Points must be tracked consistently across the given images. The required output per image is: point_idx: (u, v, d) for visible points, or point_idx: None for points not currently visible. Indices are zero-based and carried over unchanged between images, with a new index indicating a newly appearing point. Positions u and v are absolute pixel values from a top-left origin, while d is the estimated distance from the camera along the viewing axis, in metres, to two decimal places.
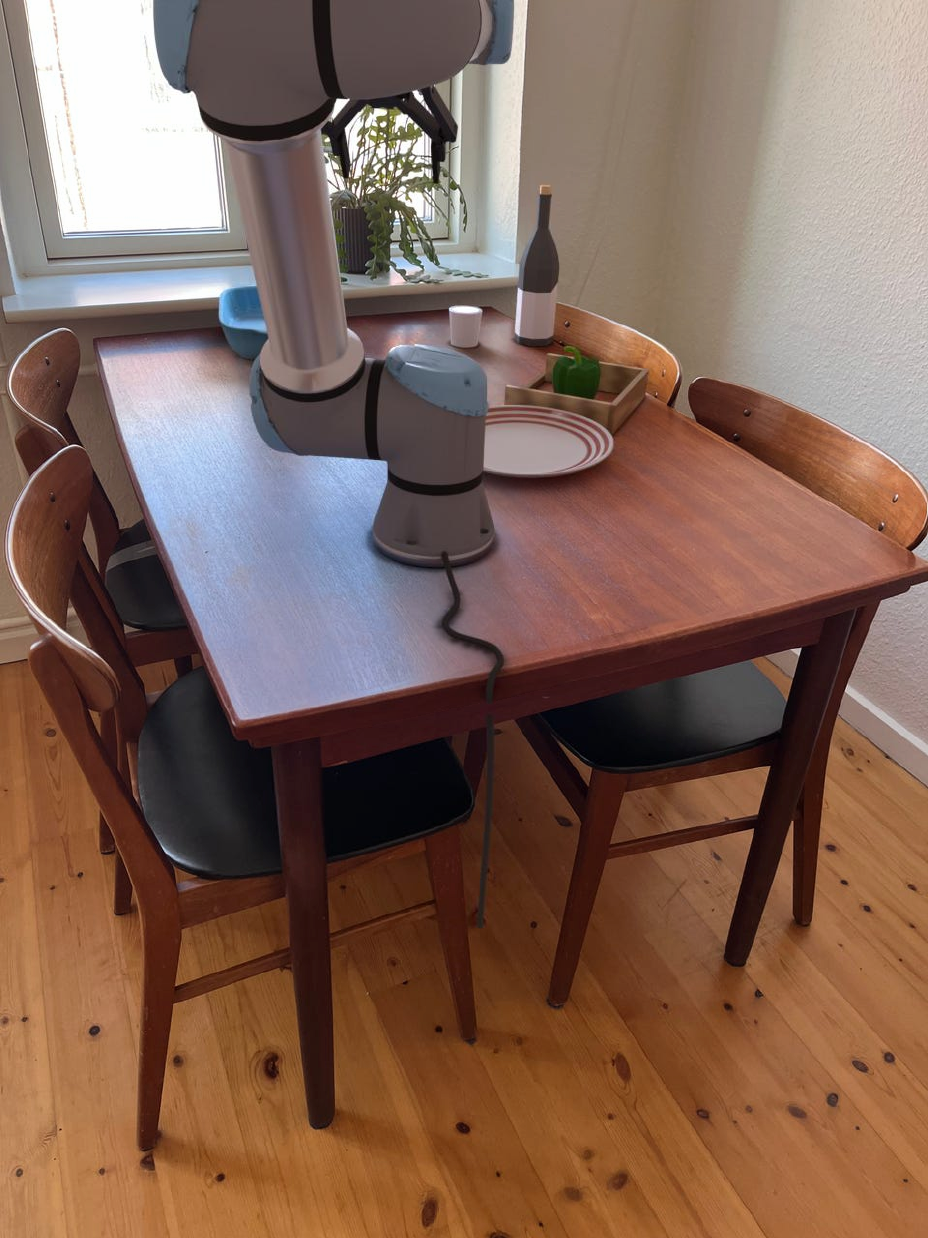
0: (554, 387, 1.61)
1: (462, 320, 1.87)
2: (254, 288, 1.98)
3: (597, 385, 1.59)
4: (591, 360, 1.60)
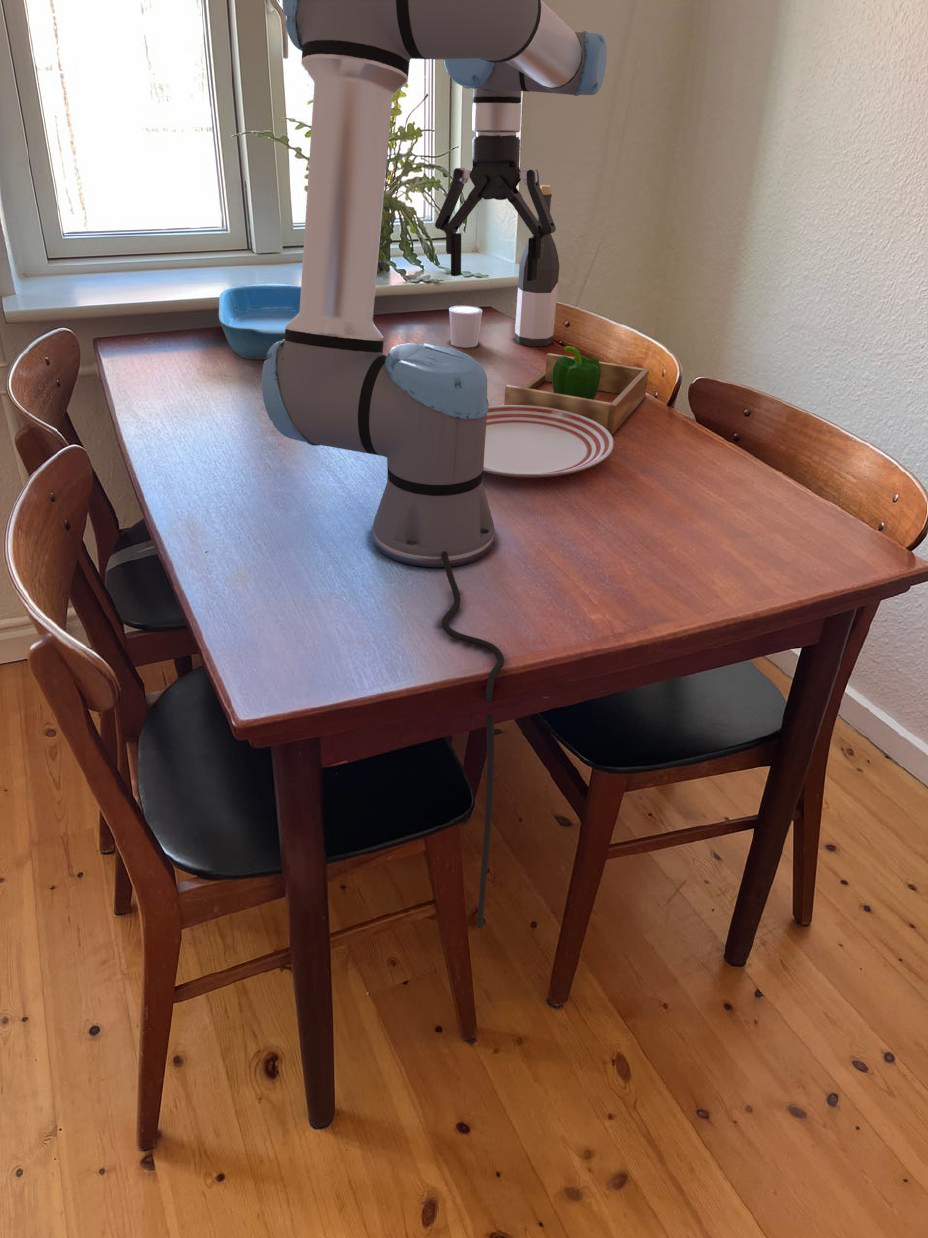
0: (554, 387, 1.61)
1: (462, 320, 1.87)
2: (254, 288, 1.98)
3: (597, 385, 1.59)
4: (591, 360, 1.60)
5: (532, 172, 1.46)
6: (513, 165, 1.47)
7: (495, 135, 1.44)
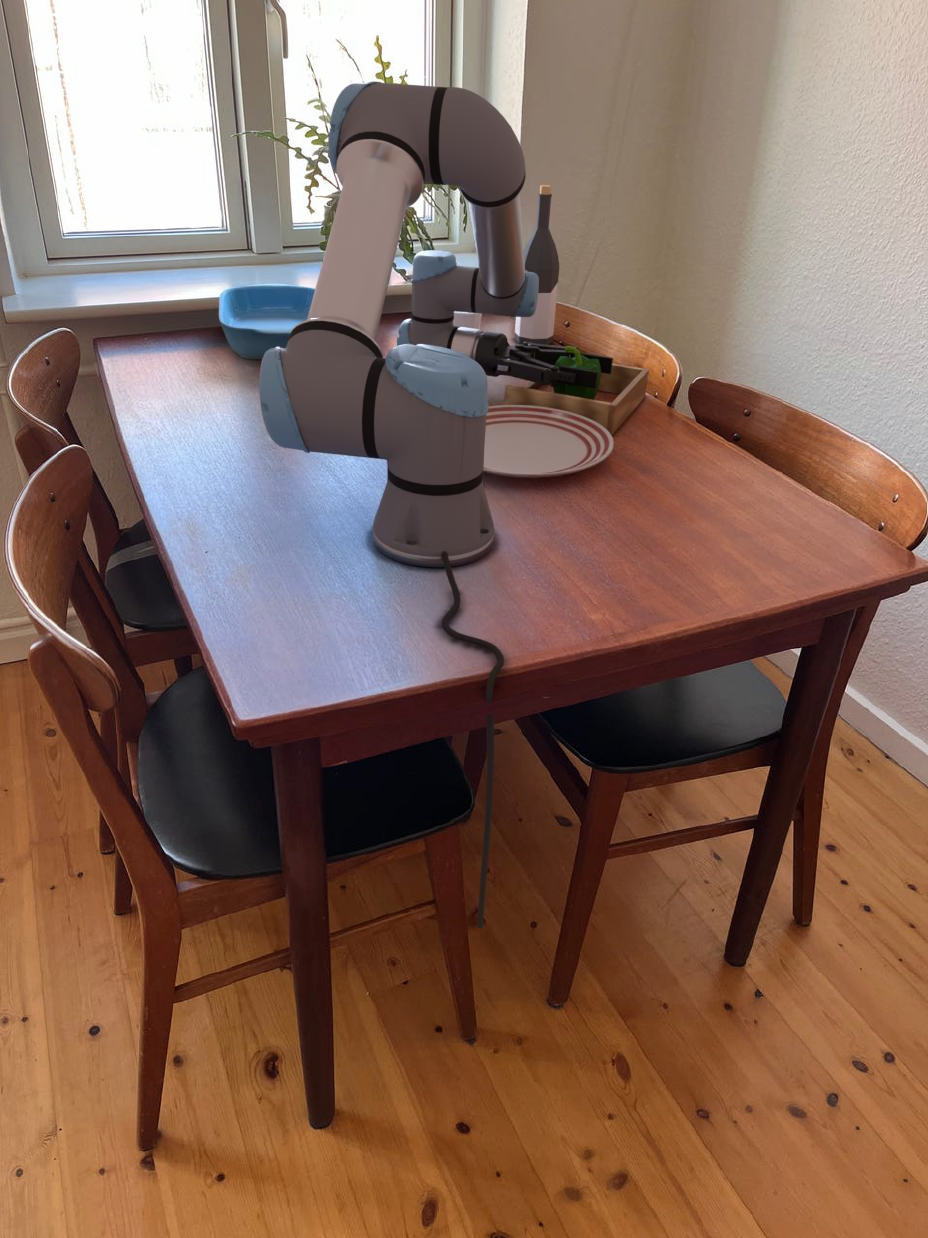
0: (554, 387, 1.61)
1: (462, 320, 1.87)
2: (254, 288, 1.98)
3: (597, 385, 1.59)
4: (591, 360, 1.60)
5: None
6: None
7: None
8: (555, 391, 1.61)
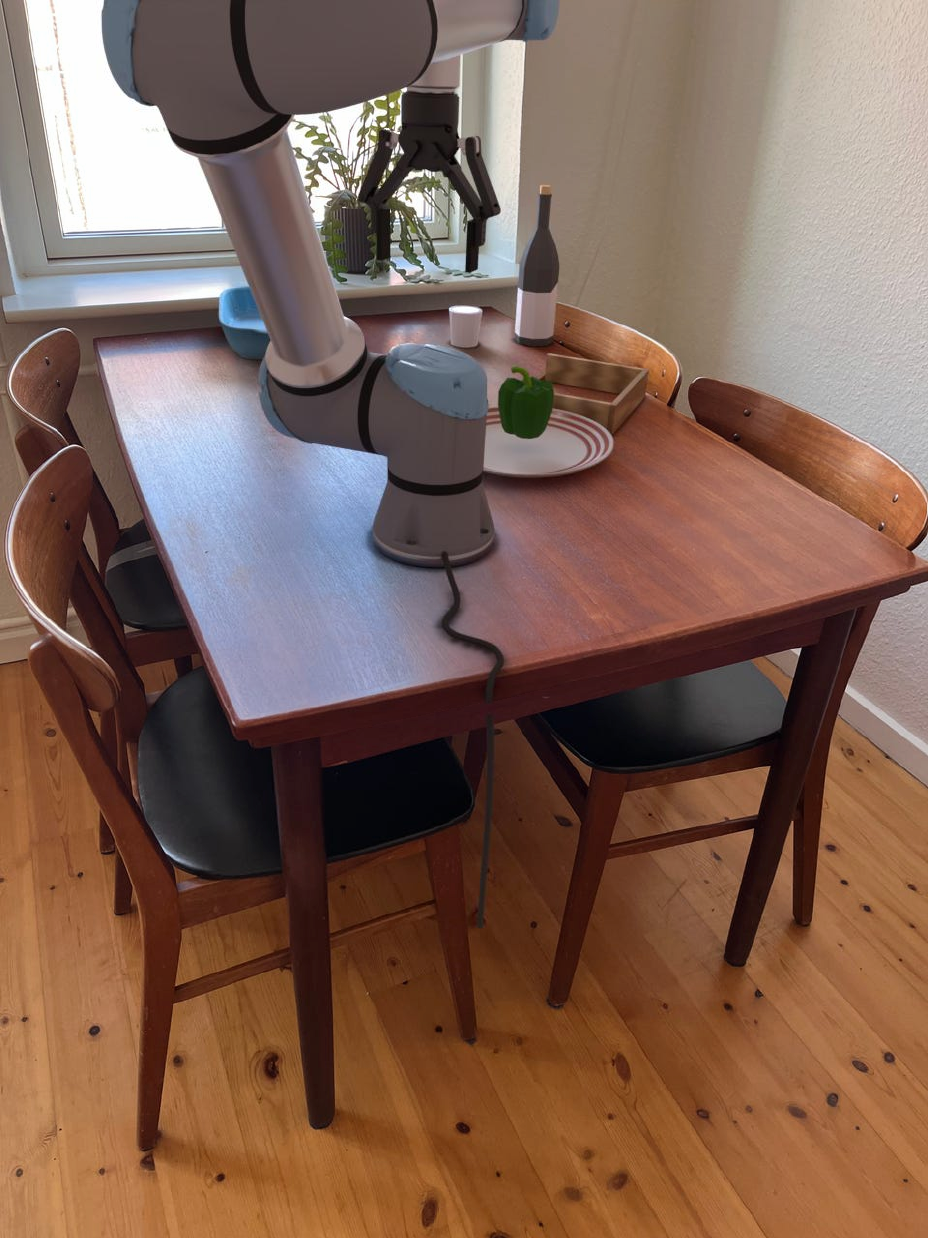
0: (500, 414, 1.39)
1: (462, 320, 1.87)
2: None
3: (550, 411, 1.37)
4: (543, 382, 1.38)
5: (472, 140, 1.19)
6: (449, 130, 1.19)
7: (426, 92, 1.16)
8: (501, 418, 1.39)
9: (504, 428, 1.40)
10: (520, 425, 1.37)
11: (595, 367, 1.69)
